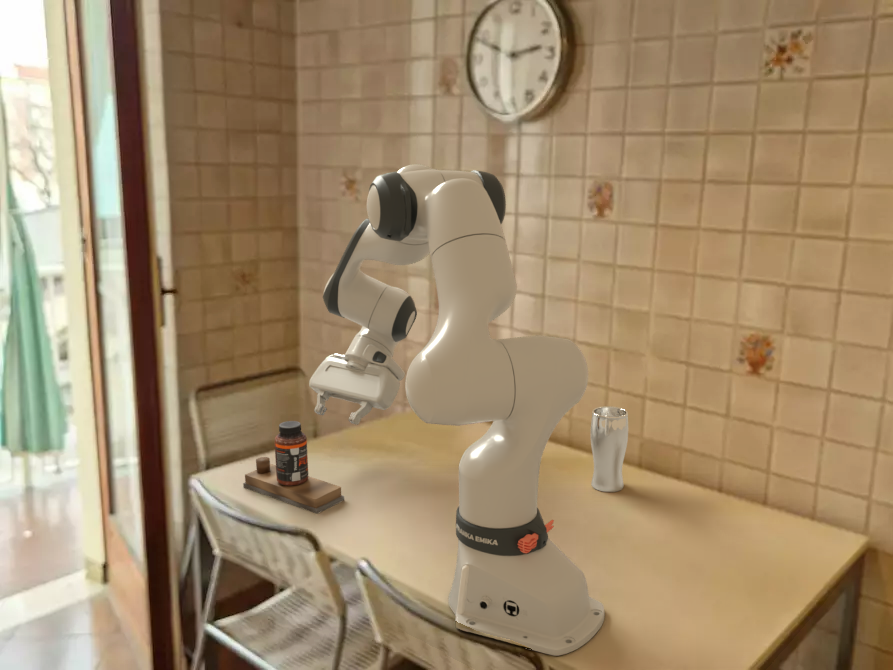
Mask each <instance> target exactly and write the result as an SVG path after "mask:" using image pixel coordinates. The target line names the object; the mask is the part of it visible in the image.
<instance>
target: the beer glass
mask: <svg viewBox="0 0 893 670" xmlns="http://www.w3.org/2000/svg"><path fill="white" fill-rule="evenodd" d="M591 414H592V415H591V416H592V417H591V423H590V444H591V445H590V446H591V452H592V459H593V460H592V461H593V473H592V477H591V478H592V480H591V481H590V483H591V487H592V488H593V489H594V490H597V491H600V492H603V493H615V492H619V491H621V490H623V488H624V477H623V463H624V460H625V455H626V451H627V447H628V440H629V417H628V416H629V413H628V411H627V410H626V409H624V408H622V407H618V406H613V405H611V406H610V405H607V406H606V405H605V406H604V405H603V406H598V407H595V408H593V410H592V412H591Z"/></svg>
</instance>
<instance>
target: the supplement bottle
mask: <svg viewBox="0 0 893 670" xmlns="http://www.w3.org/2000/svg"><path fill="white" fill-rule="evenodd" d="M301 425H302V424H301V422H299V421H297V420H289V421H288V420H287V421H283V422H281V423H279V425H278V432H279V433H278V434H277V435H276V436H275V437H274V457H275V465H276V476H277V481H278V483H280V484H282V485H286V486H295V485H300V484H302V483H304V482H306V481H307V480H308V476H309V465H308V464H309V463H308V462H309V460H308V439H307V435H306V433H304V432H303V431H302V426H301Z"/></svg>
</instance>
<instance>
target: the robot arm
mask: <svg viewBox="0 0 893 670" xmlns="http://www.w3.org/2000/svg"><path fill="white" fill-rule="evenodd" d="M366 199H367V200H366V212H367V218H365V219H364V220H363V221H362V222H361V223H360V224H359V225H358V227H357V228H356V230H355V231H354V232H353V234H352V236H351V238H350V240H349V242H348V243H347V245H346V248H345V250H344V252H343V254H342V255H341V258H340V260H339V262H338V264H337V266H336V269H335V271H334V272H333V273H332V275H330V277H329V279H328V280H327V282H326V284H325V287H324V288H323V289H324V290H323V295H322V299H323V303H324V305H325V307H326V310H327V312H328V313H330V314H332V315H336V316H338V317H341V318H343V319H346V320H349V321H351V322H353V323H355V324H357V325H359V326H361V327H360V330H359V332H357V333H356V334H355V335H354V338H353V339H352V340H351V342H350V344H349V345H348V346H349V347H348V349H346V352H345V353H344V354H340V353H337V352H336V353H333V354H331V355H328V356H326V357H325V359H324V360H323V361H321V363H320V364H319V365H318V367H317V368H316V369H315V371H314V372H313V374H312V375H311V377H310V379H309V381H308V382H309V386H308V387H309V388H311V389H312V390H313V391H314V392H315V393H317V394H316V405H315V407H314V409H313V411H314V413H315V414H317V415H320V416H325V414H326V411H327V410H328V408H327V407H326V401H329V399H330V397H331V398H334V399H339V400H344V401H347V402H351V403H353V404H358V405H360V407H359V408H358V409H357V410H356V411H355V412H353V411H352V412H350V416H349V417H348V419H347V420H348V421H349V422H350V423H351V424H353V425H355V426H356V425H357V426H358V425H359V424H360V422H361V420H362V418H364V417H366V416H367V415H368V414H369V413H370V412H371V411H372V409H373V408H375V409H378V410H382V411H385V410H388V409H389V408H390V407H391V406H392V405H393V403H394V401H395V399H396V398H397V394H398V393H399V390H400V388H401V382H400V381H402V380H403V379H404V378H405V383H404V385H405V386H404V387H405V388H404V389H405V394H406V398H407V401H408V403H409V406H410V408H411V409H412V411H413V413H414V414H415V415H416V416H417V417H418V418H419V419H420V420H421V421H423V423H426V424H429V425H430V424H431V425H439V426H440V425H442V426H458V427H459V426H460V427H461V426H466V425H467V426H468V425H472V424H473V425H474V424H481V423H489V422H492V424H491V426H490V427H489V428H488V430H486V432H485V433H484V434H483V435H482V436H481V437H480V438H478V439H477V440H476V441H475V442H473V443H471V444H470V445H469V446H468V447H467V448H466V449H465V451H464V452H463V454H462V456H461V458H460V460H459V465H458V504H459V505H458V507H457V508H456V511H455V535H456V538H457V539H458V540H457V541H458V544H457V545H458V546H457V554H456V555H457V557H456V564H455V571H454V576H453V581H452V583H451V584H452V585H451V589H450V591H449V594H448V598H447V599H448V605H449V607H450V609H451V610H452V612H453V614H454V616H455V619H454V622H455V621H457V622H458V623H461V624H463V625H465V626H467V627H470V628H472V629H474V630H476V631H480V632H483V633H486V634H490V635H493V636H497V637H502V638H506V639H510V640H513V641H515V642H518V643H520V644H522V645H525V646H527V647H529V648H531V649H532V650H531V649H530V650H531V651H535V652H539V653H543V654H546V655H550V656H554V657H555V656H556V657H557V656H562V655H566V654H569V653H571V652H573V651H576V650H578V649H579V648H581V647H582V646H584V645H585V644H586V643H588V642H589V641H591V639H592V638H593V637H594V636H595V635H596V634H597V632H599V630H600V629H601V628H602V625H603V624H604V621H605V616H606V615H605V607H604V603H602V602H601V601H599V600H598V599H595V598H593V597H591V596H589V595H590V594H589V589H588V587H589V586H588V583H587V578H586V576H585V573H584V572H583V570H582V569H580V568H579V566H578V565H576V564H575V563H574V562H573V561H572V560H571V559H570V558H569V557H568V556H567V555H566V554H565V553H564V552H563V551H562V550H561V548H559V547H558V546H557V545H556V543H554V542H553V541H552V540H551V539H550V538H549V533H548V532H550V531H551V530H552V529H553V528H554V527H555V526H554V525H553V524H554V521H555V519H551V520H550V521H548V523H546V524H545V522H544V519H543V517H542V514H541V512H540V509H539V507H538V495H539V494H538V493H539V489H538V488H539V478H540V467H541V462H542V457H543V454H544V451H545V449H546V447H547V444H548V441H549V439H550V437H551V436H552V434H553V431H554V430H555V429H556V427H557V426H558V424H559V423H560V421H561V420H562V418H563V417H564V416H565V415H567V413H568V412H569V411H570V410H571V409H573V407H574V406H576V405H577V404H578V403H579V402H580V401H581V400H582V398H583V396H584V394H585V392H586V391H587V387H588V383H589V366H588V363H587V360H586V357H585V355H584V354H583V351H582V350H581V349H580V347H579V346H578V345H577V344H576V343H575V342H574V341H573V340H571V339H570V338H566V337H565V338H563V337H555V336H548V335H540V334H539V335H537V334H536V335H530V336H529V335H528V336H519V337H507V338H498V339H496V338H492V336H491V334H490V329H489V323H491V322H492V321H494V320H496V319H497V318H499V317H500V316H501V315H503V313H505V312H506V311H507V310H508V309H509V308H510V307H511V306H512V305H513V303H514V301H515V300H516V299H515V298H516V295H517V288H518V286H517V284H518V283H517V281H516V278H515V274H514V273H515V272H514V268H513V265H512V261H511V255H510V253H509V249H508V244H507V241H506V237H505V233H504V230H503V227H502V224H503V222H504V219H505V215H506V210H507V209H506V205H507V204H506V203H507V202H506V195H505V189H504V187H503V184H502V183H501V181H500V180H499V179H498V178H497V177H496V175H495V174H493V173H490V172H486V171H484V170H483V171H482V170H471V171H465V170H452V169H450V170H449V169H444V170H443V169H439V170H438V169H437V168H436V169H435V168H433V167H431V166H428V165H425V164H421V163H420V164H419V163H418V164H417V163H415V164H409V165H406V166H403V167H401V168H400V169H399V170H397V171H392V172H391V171H390V172H387V173H383V174H379V175H377V176H376V177H375V178H374V179H373V181H372V182H371V184H370V186H369V189H368V195H367V198H366ZM429 255H430V261H431V265H432V266H431V267H432V270H433V276H434V280H435V281H434V282H435V287H436V295H437V301H438V316H437V320H436V325H435V329H434V330H433V331H434V332H433V333H432V335H431V337H430V339H429V340H428V342H427V343H426V344H425V346H424V347H423V348H422V349H421V350H420V351H419V352H418V353H417V355H415V356H414V358H413V359H412V361H411V362H410V364H409V366H408V369H407V371H406V372H405V370H403V368H402V366H401V365H399V363H398V362H397V361H396V360H395V359H394V358H393V357H394V353H395V349H396V347H397V345H398V344H400V342H401V341H403V340H405V339H407V337H408V335H409V333H410V330H411V328H412V327H413V325H414V323H415V321H416V318H417V316H418V311H417V308H416V301H415V300H414V298H413V296H412V295H411V294H410V293H409V292H408V291H406V290H405V289H402V288H400V287H398V286H392V285H390V284H387V283H385V282H383V281H380V280H379V279H377V278H375V277H372V276H370V275H368V274H366V273H365V272H363V271H362V269H361V267H362V265H363V263H364V261H376V262H377V261H378V262H382V263H386V264H389V265H393V266H408V265H413V264H416V263H418V262H421V261H423V260H424V259H425V258H427V257H428V256H429Z"/></svg>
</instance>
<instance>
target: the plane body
mask: <svg viewBox="0 0 893 670" xmlns="http://www.w3.org/2000/svg"><path fill="white" fill-rule="evenodd" d="M255 463H256V466H255V467H256V470H255V469H254V470H253V471H250V472H248V473H246V474H244V482H243V483H242V485H243V488H244V489H248V490H251V491H253V492H256V493H259V494H262V495H265V496H267V497H269V498H272V499H276V500H278V501H281V502H284V503H286V504H289V505H291V506H295V507H297V508H299V509H300V508H301V509H303V510H306V511H308V512H311V513H314V514H319V513H321V512H324V511H325V510H327V509H329V508H331V507H333V506H335V505H337V504H339V503H341V502H343V501H344V500H345V496H344V495H342V486H339V485H336V484H333V483H332V482H327V481H325V480H321V479H318V478H315V477H312V476H309V475H308V480H307V481H306V482H304V483H302V484H300V485H295V486H286V485H282V484H280V483H278V481H277V476H276V464H272V463H271V459H270V458H269V457H268V456H261V457H257V458H256V459H255Z"/></svg>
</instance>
